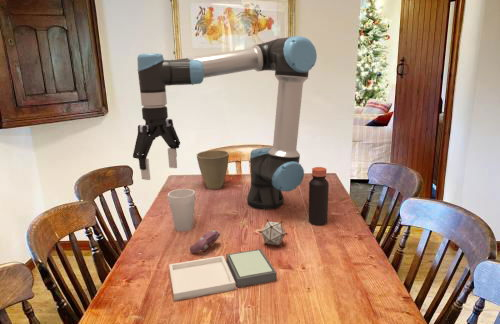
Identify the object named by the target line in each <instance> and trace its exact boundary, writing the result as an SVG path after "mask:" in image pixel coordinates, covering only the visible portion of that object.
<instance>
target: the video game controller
mask: <svg viewBox="0 0 500 324" xmlns="http://www.w3.org/2000/svg"><path fill="white" fill-rule="evenodd" d="M220 236H221V233H220V232H218V231H217V230H215V229H212V230H210V231H206V232H204V233H203V235H202V236H201V237H199V238H198V239H197V240H196V242H195V243H194V244H192V245H191V246H190V247H189V252H190V253H192V254H197V253H199V252H200V251H201V252H203V253H204V252H206V250H207V249H208V248H212V247H213V246H214V244H215V242H217V240H218V239H219V237H220Z"/></svg>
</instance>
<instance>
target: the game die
mask: <svg viewBox="0 0 500 324" xmlns="http://www.w3.org/2000/svg"><path fill="white" fill-rule="evenodd" d="M258 233H260V234H261V235H262V238H263V240H264V246H265V245H267V244H268V245H269V244H270V245H275V246H276V245H277V246H278V248H281V243H282V241H283V239H284V238H285V236H288V233H287V232H285V229H284V227H283V220H281V221H280V222H278V221H269V219H268V218H266V224H265V225H264V227H263V228H262V230H261V231H260V230H259V231H258Z"/></svg>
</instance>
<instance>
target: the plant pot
mask: <svg viewBox="0 0 500 324" xmlns="http://www.w3.org/2000/svg"><path fill="white" fill-rule="evenodd" d="M229 157H230V153H229V151H226V150H223V149H219V150H218V149H213V150H205V151H201V152H198V153H196V159H197V165H198V168H199V171H200V174H201V176H202V177H201V178H202V179H203V181H204V184H205V186H206V188H207V189H209V190H217V189H221V188H222V187H223V186H224V182H225V180H226V175H227V172H228V165H229Z"/></svg>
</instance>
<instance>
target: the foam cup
mask: <svg viewBox="0 0 500 324" xmlns="http://www.w3.org/2000/svg"><path fill="white" fill-rule="evenodd" d="M167 200H168V203H169V208H170V213H171V216H172V221H173V226H174V230H175V231H176V232H187V231H190V230H192V229H193V228H194V218H195V217H194V216H195V203H196V202H195V200H196V192H195V190H194V189H192V188H191V189H189V188H177V189H173V190H171V191H169V192H168V193H167Z"/></svg>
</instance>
